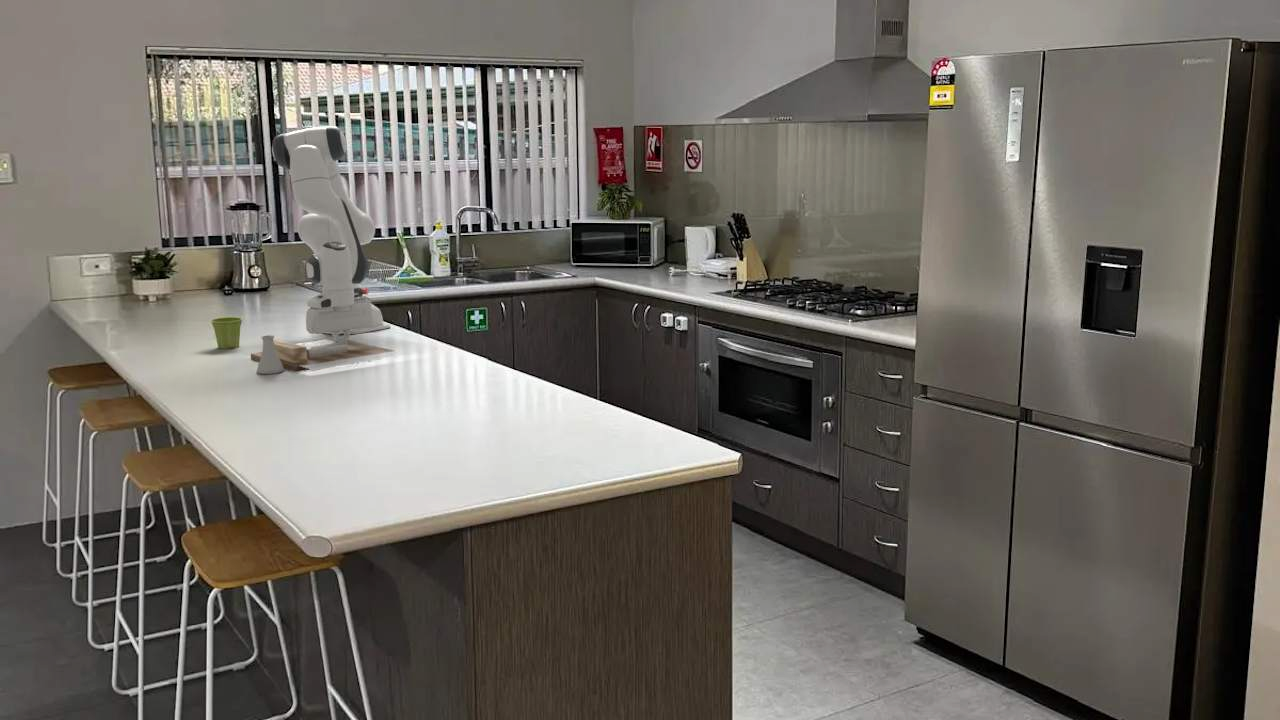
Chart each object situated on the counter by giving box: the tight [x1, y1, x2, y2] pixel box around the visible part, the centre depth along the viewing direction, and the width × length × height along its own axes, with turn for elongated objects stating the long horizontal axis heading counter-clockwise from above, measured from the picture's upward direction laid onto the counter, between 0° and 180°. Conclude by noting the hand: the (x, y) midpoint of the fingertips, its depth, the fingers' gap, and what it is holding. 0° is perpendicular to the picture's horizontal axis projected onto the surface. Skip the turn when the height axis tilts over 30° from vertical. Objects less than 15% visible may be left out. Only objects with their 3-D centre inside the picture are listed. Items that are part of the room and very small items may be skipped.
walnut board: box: [250, 339, 395, 372], centre depth 335 cm, size 31×28×2 cm
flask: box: [255, 334, 286, 375], centre depth 314 cm, size 7×7×10 cm
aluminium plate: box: [296, 338, 348, 358], centre depth 334 cm, size 12×12×2 cm
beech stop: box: [273, 338, 307, 363], centre depth 327 cm, size 4×18×4 cm, turn 43°
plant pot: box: [209, 316, 243, 350], centre depth 354 cm, size 9×9×9 cm
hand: (341, 345), depth 339 cm, fingers closed
